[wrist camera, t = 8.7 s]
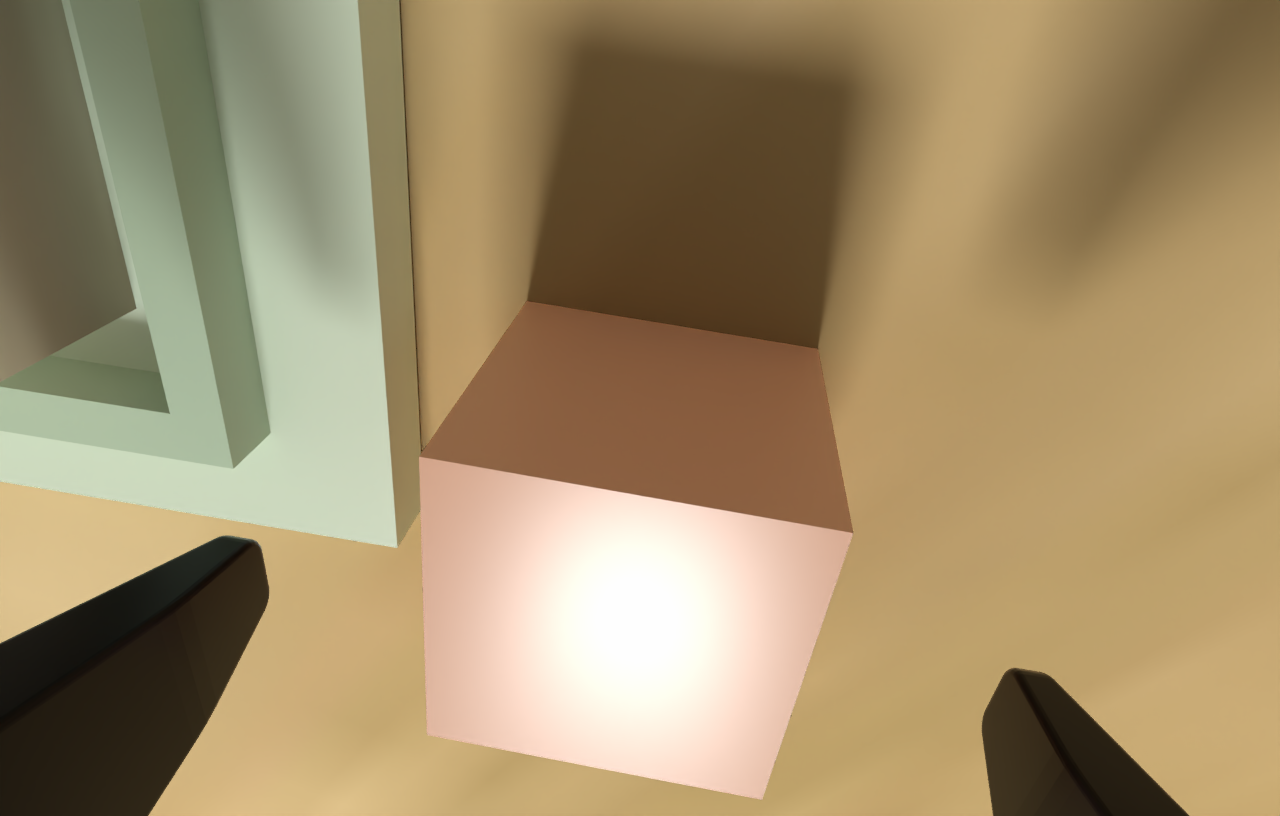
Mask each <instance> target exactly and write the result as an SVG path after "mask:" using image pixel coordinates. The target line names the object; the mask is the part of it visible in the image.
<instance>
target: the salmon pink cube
mask: <svg viewBox="0 0 1280 816" xmlns="http://www.w3.org/2000/svg"><path fill="white" fill-rule="evenodd" d="M419 474H420V508H421V542H422V577H423V611H424V645H425V680H426V714H427V735H430V736H435V737H441V738H446V739H451V740H456V741H461V742H466V743H472V744H477V745H482V746H487V747H492V748H497V749H503V750H508V751H513V752H518V753H523V754H528V755H534V756H539V757H544V758H549V759H554V760H559V761H565V762H570V763H575V764H580V765H585V766H590V767H596V768H601V769H606V770H611V771H616V772H621V773H627V774H632V775H637V776H642V777H647V778H652V779H658V780H663V781H668V782H673V783H678V784H684V785H689V786H694V787H699V788H704V789H709V790H715V791H720V792H725V793H730V794H735V795H740V796H746V797H751V798H756V799H761V800H762V798H763V795H764V792H765V789H766V787H767V784H768V781H769V778H770V775H771V772H772V769H773V766H774V763H775V760H776V757H777V754H778V751H779V749H780V746H781V743H782V740H783V737H784V734H785V731H786V728H787V725H788V722H789V719H790V716H791V714H792V711H793V708H794V705H795V702H796V699H797V696H798V693H799V690H800V687H801V684H802V681H803V679H804V676H805V673H806V670H807V667H808V664H809V661H810V658H811V655H812V652H813V649H814V646H815V644H816V641H817V638H818V635H819V632H820V629H821V626H822V623H823V620H824V617H825V614H826V611H827V609H828V606H829V603H830V600H831V597H832V594H833V591H834V588H835V585H836V582H837V579H838V576H839V573H840V571H841V568H842V565H843V562H844V559H845V556H846V553H847V550H848V547H849V544H850V541H851V538H852V536H853V529H852V524H851V519H850V513H849V508H848V503H847V498H846V493H845V487H844V482H843V477H842V472H841V467H840V461H839V456H838V451H837V446H836V441H835V435H834V430H833V425H832V420H831V415H830V409H829V404H828V399H827V394H826V389H825V383H824V378H823V373H822V368H821V363H820V357H819V352H818V349H816V348H810V347H804V346H798V345H792V344H786V343H780V342H774V341H768V340H762V339H756V338H749V337H743V336H737V335H731V334H725V333H719V332H713V331H707V330H701V329H695V328H688V327H682V326H676V325H670V324H664V323H658V322H652V321H646V320H640V319H634V318H628V317H621V316H615V315H609V314H603V313H597V312H591V311H585V310H579V309H573V308H567V307H561V306H554V305H548V304H542V303H536V302H530V301H527V302H526V303H525V305H524V306H523V307H522V309H521V310H520V312H519V313H518V315H517V316H516V318H515V319H514V320H513V322H512V323H511V325H510V326H509V328H508V329H507V331H506V332H505V333H504V335H503V336H502V338H501V339H500V341H499V342H498V343H497V345H496V346H495V348H494V349H493V351H492V352H491V354H490V355H489V356H488V358H487V359H486V361H485V362H484V364H483V365H482V367H481V368H480V369H479V371H478V372H477V374H476V375H475V377H474V378H473V380H472V381H471V382H470V384H469V385H468V387H467V388H466V390H465V391H464V393H463V394H462V395H461V397H460V398H459V400H458V401H457V403H456V404H455V405H454V407H453V408H452V410H451V411H450V413H449V414H448V416H447V417H446V418H445V420H444V421H443V423H442V424H441V426H440V427H439V429H438V430H437V431H436V433H435V434H434V436H433V437H432V439H431V440H430V442H429V443H428V444H427V446H426V447H425V449H424V450H423V452H422V453H421V455H420V456H419Z"/></svg>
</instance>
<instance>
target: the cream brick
mask: <svg viewBox="0 0 1280 816" xmlns="http://www.w3.org/2000/svg"><path fill="white" fill-rule="evenodd" d="M135 309H137V308H136V304H135V300H134V296H133V292H132V288H131V284H130V280H129V276H128V271H127V267H126V263H125V259H124V255H123V251H122V247H121V243H120V239H119V235H118V230H117V226H116V222H115V218H114V214H113V210H112V206H111V202H110V198H109V193H108V189H107V185H106V181H105V177H104V173H103V169H102V165H101V161H100V156H99V152H98V148H97V144H96V140H95V136H94V132H93V128H92V124H91V120H90V115H89V111H88V107H87V103H86V99H85V95H84V91H83V87H82V83H81V78H80V74H79V70H78V66H77V62H76V58H75V54H74V50H73V46H72V41H71V37H70V33H69V29H68V25H67V21H66V17H65V13H64V9H63V5H62V0H0V382H1V381H3V380H5V379H7V378H9V377H11V376H12V375H14V374H16V373H18V372H20V371H22V370H24V369H25V368H27V367H29V366H31V365H33V364H35V363H36V362H38V361H40V360H42V359H44V358H46V357H48V356H49V355H51V354H53V353H55V352H57V351H59V350H61V349H62V348H64V347H66V346H68V345H70V344H72V343H74V342H75V341H77V340H79V339H81V338H83V337H85V336H87V335H88V334H90V333H92V332H94V331H96V330H98V329H99V328H101V327H103V326H105V325H107V324H109V323H111V322H112V321H114V320H116V319H118V318H120V317H122V316H124V315H125V314H127V313H129V312H131V311H133V310H135Z"/></svg>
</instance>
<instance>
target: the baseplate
mask: <svg viewBox="0 0 1280 816" xmlns="http://www.w3.org/2000/svg"><path fill="white" fill-rule="evenodd" d="M62 5H63V9H64V13H65V17H66V21H67V25H68V29H69V33H70V37H71V41H72V46H73V50H74V54H75V58H76V62H77V66H78V70H79V74H80V78H81V83H82V87H83V91H84V95H85V99H86V103H87V107H88V111H89V115H90V120H91V124H92V128H93V132H94V136H95V140H96V144H97V148H98V152H99V156H100V161H101V165H102V169H103V173H104V177H105V181H106V185H107V189H108V193H109V198H110V202H111V206H112V210H113V214H114V218H115V222H116V226H117V230H118V235H119V239H120V243H121V247H122V251H123V255H124V259H125V263H126V267H127V271H128V276H129V280H130V284H131V288H132V292H133V296H134V300H135V304H136V308H137V309H135V310H133V311H131V312H129V313H127V314H125V315H124V316H122V317H120V318H118V319H116V320H114V321H112V322H111V323H109V324H107V325H105V326H103V327H101V328H99V329H98V330H96V331H94V332H92V333H90V334H88V335H87V336H85V337H83V338H81V339H79V340H77V341H75V342H74V343H72V344H70V345H68V346H66V347H64V348H62V349H61V350H59V351H57V352H55V353H53V354H51V355H49V356H48V357H46V358H44V359H42V360H40V361H38V362H36V363H35V364H33V365H31V366H29V367H27V368H25V369H24V370H22V371H20V372H18V373H16V374H14V375H12V376H11V377H9V378H7V379H5V380H3V381H1V382H0V482H6V483H12V484H18V485H24V486H30V487H36V488H42V489H48V490H54V491H60V492H66V493H72V494H78V495H84V496H90V497H96V498H102V499H108V500H114V501H120V502H126V503H132V504H138V505H144V506H150V507H156V508H162V509H168V510H174V511H180V512H186V513H192V514H198V515H204V516H210V517H216V518H222V519H228V520H234V521H239V522H245V523H251V524H257V525H263V526H269V527H275V528H281V529H287V530H293V531H299V532H305V533H311V534H317V535H323V536H329V537H335V538H341V539H347V540H353V541H359V542H365V543H371V544H377V545H383V546H389V547H395V548H398V546H399V544H400V543H401V541H402V540H403V538H404V536H405V535H406V533H407V531H408V530H409V528H410V527H411V525H412V523H413V522H414V520H415V518H416V517H417V515H418V513H419V512H420V510H421V508H420V474H419V456H420V455H421V442H420V421H419V401H418V380H417V359H416V338H415V317H414V297H413V276H412V255H411V234H410V213H409V193H408V172H407V151H406V130H405V109H404V89H403V68H402V47H401V26H400V5H399V0H62Z"/></svg>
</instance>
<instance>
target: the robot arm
mask: <svg viewBox="0 0 1280 816" xmlns="http://www.w3.org/2000/svg"><path fill="white" fill-rule="evenodd" d="M268 599H269V585H268V580H267V575H266V569H265V564H264V559H263V554H262V549H261V546H260V545H259V544H258V542H257V541H254V540H252V539H246V538H240V537H234V536H221V537H218V538H216V539H214V540H211V541H209V542H207V543H205V544H203V545H201V546H199V547H197V548H195V549H193V550H191V551H189V552H187V553H185V554H183V555H181V556H179V557H177V558H174V559H172V560H170V561H168V562H166V563H164V564H162V565H160V566H158V567H156V568H154V569H152V570H150V571H148V572H146V573H144V574H142V575H140V576H138V577H135V578H133V579H131V580H129V581H127V582H125V583H123V584H121V585H119V586H117V587H115V588H113V589H111V590H109V591H107V592H105V593H103V594H101V595H98V596H96V597H94V598H92V599H90V600H88V601H86V602H84V603H82V604H80V605H78V606H76V607H74V608H72V609H70V610H68V611H66V612H64V613H62V614H59V615H57V616H55V617H53V618H51V619H49V620H47V621H45V622H43V623H41V624H39V625H37V626H35V627H33V628H31V629H29V630H27V631H25V632H22V633H20V634H18V635H16V636H14V637H12V638H10V639H8V640H6V641H4V642H2V643H0V816H148V815H149V814H150V812H151V811H152V809H153V807H154V806H155V804H156V803H157V801H158V800H159V798H160V796H161V795H162V793H163V792H164V790H165V789H166V787H167V786H168V784H169V782H170V781H171V779H172V778H173V776H174V775H175V773H176V772H177V770H178V768H179V767H180V765H181V764H182V762H183V761H184V759H185V757H186V756H187V754H188V753H189V751H190V750H191V748H192V747H193V745H194V743H195V742H196V740H197V739H198V737H199V735H200V734H201V732H202V730H203V729H204V727H205V725H206V724H207V722H208V720H209V718H210V717H211V715H212V713H213V711H214V709H215V707H216V706H217V704H218V702H219V700H220V698H221V696H222V694H223V692H224V690H225V688H226V686H227V684H228V682H229V680H230V678H231V676H232V674H233V672H234V670H235V668H236V666H237V664H238V662H239V660H240V658H241V656H242V654H243V652H244V650H245V648H246V646H247V644H248V642H249V640H250V639H251V637H252V635H253V633H254V631H255V629H256V627H257V625H258V623H259V621H260V619H261V617H262V615H263V613H264V611H265V609H266V606H267V603H268ZM982 737H983V744H984V752H985V759H986V766H987V774H988V781H989V788H990V796H991V803H992V810H993V816H1189V815H1188V814H1187V813H1186V812H1185V811H1184V810H1183V809H1182V808H1181V807H1180V806H1179V805H1178V804H1177V803H1176V802H1175V801H1174V800H1173V799H1172V798H1171V797H1170V796H1169V795H1168V794H1167V793H1166V792H1165V791H1164V790H1163V789H1162V788H1161V787H1160V786H1159V785H1158V784H1157V783H1156V782H1155V781H1154V780H1153V779H1152V778H1151V777H1150V776H1149V775H1148V774H1147V773H1146V772H1145V771H1144V770H1143V769H1142V768H1141V767H1140V766H1139V764H1138V763H1137V762H1136V761H1135V760H1134V759H1133V758H1132V757H1131V756H1130V755H1129V754H1128V753H1127V752H1126V751H1125V750H1124V749H1123V748H1122V747H1121V746H1120V745H1119V744H1118V743H1117V742H1116V741H1115V740H1114V739H1113V738H1112V737H1111V736H1110V735H1109V734H1108V733H1107V732H1106V731H1105V730H1104V729H1103V728H1102V727H1101V726H1100V725H1099V724H1098V723H1097V722H1096V721H1095V720H1094V719H1093V718H1092V717H1091V716H1090V715H1089V714H1088V713H1087V712H1086V711H1085V710H1084V709H1083V708H1082V707H1081V706H1080V705H1079V704H1078V703H1077V702H1076V701H1075V700H1074V699H1073V698H1072V697H1071V696H1070V695H1069V694H1068V693H1067V692H1066V691H1065V690H1064V689H1063V688H1062V687H1061V686H1060V685H1059V684H1058V683H1057V682H1056V681H1055V680H1054V679H1053V678H1051V677H1050V676H1049V675H1047V674H1045V673H1042V672H1037V671H1031V670H1025V669H1019V668H1011V669H1009V670H1008V671H1006V672H1005V674H1004V675H1003V677H1002V679H1001V681H1000V683H999V685H998V687H997V688H996V690H995V692H994V694H993V696H992V698H991V700H990V702H989V704H988V706H987V708H986V710H985V712H984V716H983V720H982Z"/></svg>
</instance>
